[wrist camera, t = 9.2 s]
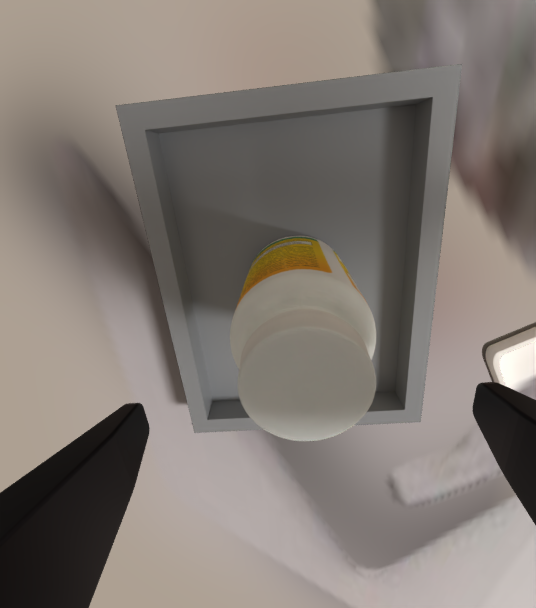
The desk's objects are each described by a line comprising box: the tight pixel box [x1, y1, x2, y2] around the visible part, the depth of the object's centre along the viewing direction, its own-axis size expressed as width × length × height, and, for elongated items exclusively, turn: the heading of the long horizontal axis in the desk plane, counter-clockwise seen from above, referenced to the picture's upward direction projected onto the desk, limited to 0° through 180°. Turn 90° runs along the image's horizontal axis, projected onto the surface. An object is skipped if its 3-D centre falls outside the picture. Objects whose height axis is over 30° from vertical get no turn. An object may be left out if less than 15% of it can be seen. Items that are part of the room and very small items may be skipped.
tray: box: [116, 64, 462, 433], centre depth 18 cm, size 18×14×2 cm
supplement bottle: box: [230, 236, 376, 441], centre depth 14 cm, size 5×5×10 cm
